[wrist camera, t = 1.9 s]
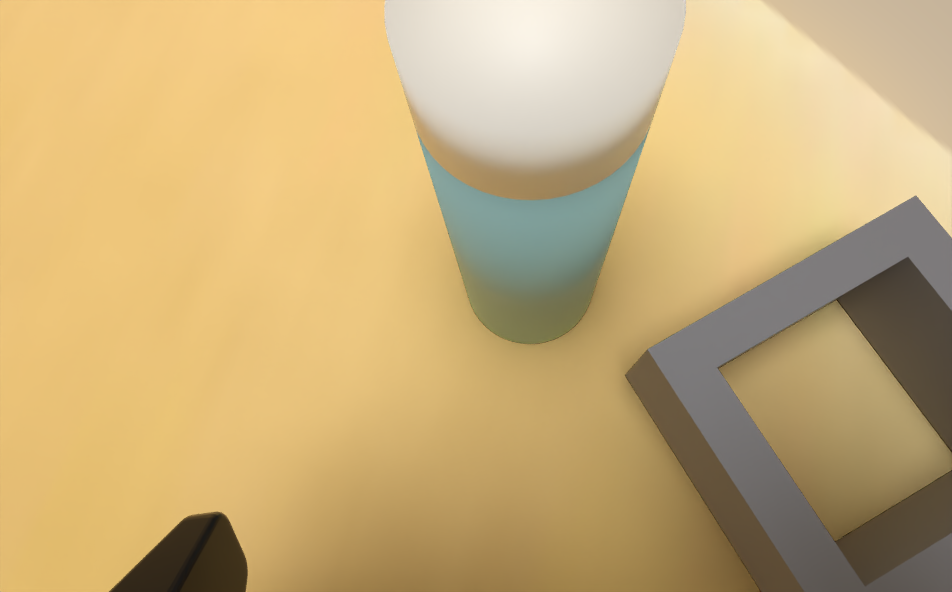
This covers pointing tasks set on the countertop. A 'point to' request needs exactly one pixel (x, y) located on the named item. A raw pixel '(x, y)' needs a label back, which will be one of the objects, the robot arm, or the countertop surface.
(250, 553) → the countertop surface
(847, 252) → the socket
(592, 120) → the peg
